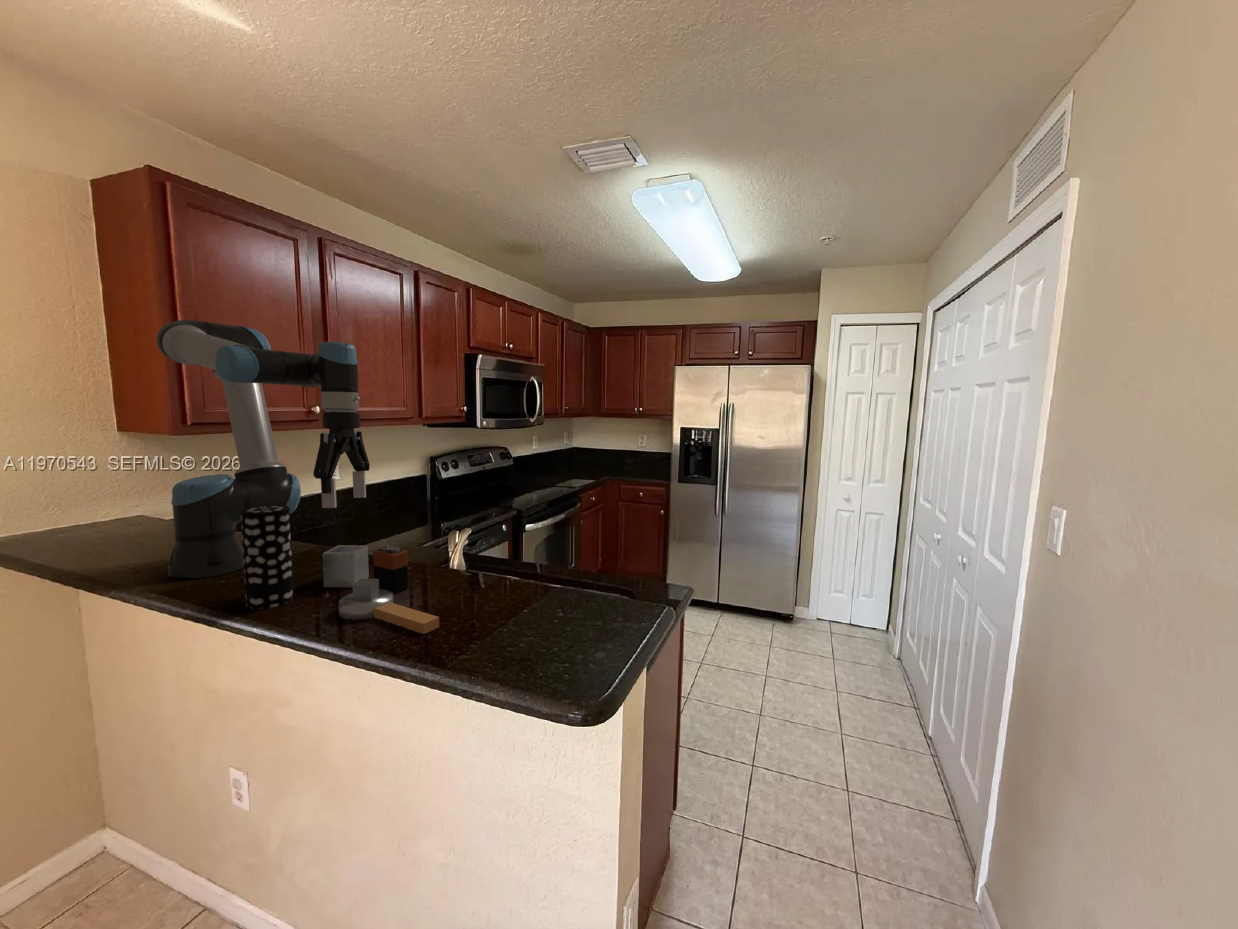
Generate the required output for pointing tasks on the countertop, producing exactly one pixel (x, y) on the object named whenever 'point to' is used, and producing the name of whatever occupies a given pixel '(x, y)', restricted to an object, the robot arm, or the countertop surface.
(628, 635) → the countertop surface
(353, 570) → the recessed metal cube
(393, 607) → the ratchet
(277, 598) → the white-spotted black cylinder
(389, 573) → the battery
